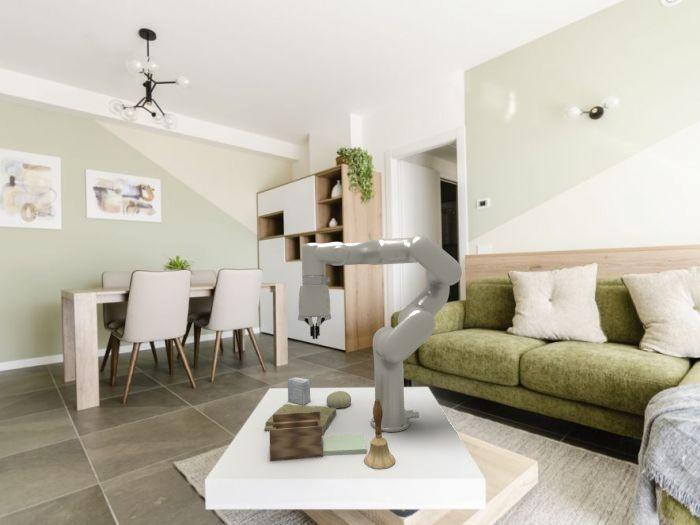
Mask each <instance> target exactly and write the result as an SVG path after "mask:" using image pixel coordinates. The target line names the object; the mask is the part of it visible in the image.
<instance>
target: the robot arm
mask: <svg viewBox="0 0 700 525" xmlns="http://www.w3.org/2000/svg"><path fill="white" fill-rule="evenodd" d="M415 263H418V264H419V265H420V266H422V267H423V268H424V269H425V278H426V283H425V286H424V288H423V290H422V291H421V292H420V293H419V294H418V295H417V296H416V297H415V298H414V299H413V300H412V301H411V302H410V303H409V304H408V305H407V306H406V307H404V308H403V309H402V310H401V311H400V313H399V314H398V316H397V323H398V324H396V325H395V327H392V326H382V327H380V328H379V329H377V331H376V332H375V333H374V335H373V338H372V351H373V352H372V354H373V363H374V364H373V365H374V401H375V400H380V404H381V407H382V412H383V416H382V421H381V432H387V433H396V432H401V431H404V430H407V429H408V428H409V427H410V420H411V419H419V418H420V413H419V411H413V410H412V409H409V410H406V409H405V382H404V372H405V371H404V361H405V360H406V359H408V358H409V357H410V356H411V355H412V354H413V353H414V352H416V351H417V350H418V349H419V347H421V346H422V345H423V344H424V343H425V342H426V341H427V340H428V339H430V336H432V334H433V332H434V330H435V327H436V319H435V317H436V315H437V314H438V313H439V312H440V311H441V310H442V309H443V308H444V307H445V306H446V304H447V302H448V299H449V296H450V288H451V287H450V286H453V285H455V284H457V283H458V282H459V281H460V279H461V278H462V275H463V273H462V271H463V270H462V266H461V265H460V263H459V261H457V260H456V259H455V258H454V257H453V256H451V255H450V253H448V252H447V251H446V250H444V249H443V248H442V247H441V246H439V244H437V243H436V242H435V241H433V239H431V238H429V237H428V236H425V235H416V236H412V237H397V238H396V237H395V238H378V239H377V238H376V239H371V240H368V241H363V242H354V243H353V242H351V243H344V242H341V241H331V242H323V243H321V242H308V243H304V244H302V246H301V273H302V274H301V275H302V278H301V280H302V282H301V283H302V284H301V285H300V286H299V289H298V290H299V291H298V292H299V293H298V317H297V320H298V321H300V322H305V323H306V324H307V325H308V326H309V328H310V329H309V330H310V331H309V332H310V333H309V334H310V335H309V336H310V337H312V340H319V339H318V337H320V336H321V335H320V334H321V332H320V331H321V330H320V329H321V328H320V326H322V324H323V323H324V322H325V321H329V320H331V319H332V316H331V298H330V289H329V285H327V283H328V282H329V283H330V282H331V277H329V276H327V275H326V265H331V266H348V265H349V266H350V265H351V266H353V265H354V266H355V265H370V266H371V265H372V266H376V265H377V266H378V265H397V264H398V265H399V264H415ZM313 318H316V323H314V322H313V321H314V320H313ZM370 425H371V426H372V427H373V428H374V429H375V421H374V418H373V417H372V418H371V419H370Z"/></svg>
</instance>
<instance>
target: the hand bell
mask: <svg viewBox="0 0 700 525" xmlns="http://www.w3.org/2000/svg"><path fill="white" fill-rule="evenodd" d="M382 416H383V412H382V407H381V404H380V400H375V399H374V404H373V408H372V418H374V421H375V428H374V429H375V432H374V433H375V437H373V438H371V439H370V444H369V450H368V452H367V454H366V455H365V457H364V459H363V462H364V464H365V465H366V466H367V467H368V468H371V469H375V470H384V469H389V468H391V467H393V466H394V465H395V464H396V459H395V456H394V455H393V454H391V452H390V450H389V444H388V440H387V438H385V437H383V435H382V432H383V431H381V421H382Z"/></svg>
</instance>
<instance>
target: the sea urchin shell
mask: <svg viewBox="0 0 700 525" xmlns="http://www.w3.org/2000/svg"><path fill="white" fill-rule="evenodd" d="M351 402H352V397H351V395H350V394H349V393H348V392H347V391H343V390H338V391H334V392H331V393H329V394H328V395H327V397H326V404H327V405H328V407H331V408H336V409H344V408H346V407H348V406H349V405H350V404H351Z"/></svg>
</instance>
